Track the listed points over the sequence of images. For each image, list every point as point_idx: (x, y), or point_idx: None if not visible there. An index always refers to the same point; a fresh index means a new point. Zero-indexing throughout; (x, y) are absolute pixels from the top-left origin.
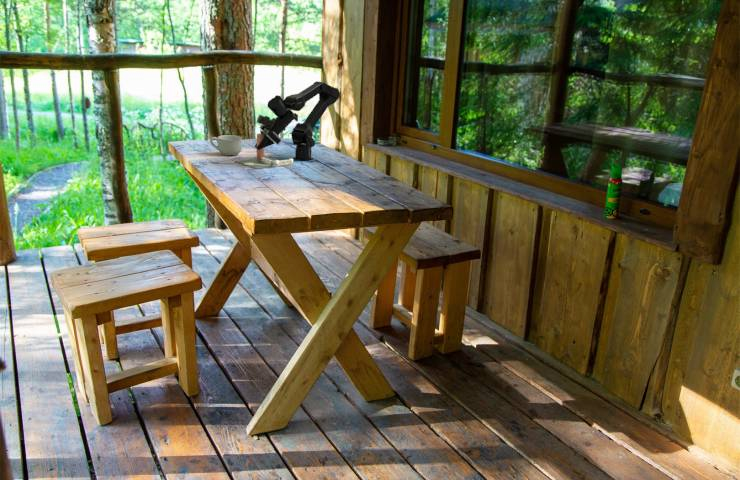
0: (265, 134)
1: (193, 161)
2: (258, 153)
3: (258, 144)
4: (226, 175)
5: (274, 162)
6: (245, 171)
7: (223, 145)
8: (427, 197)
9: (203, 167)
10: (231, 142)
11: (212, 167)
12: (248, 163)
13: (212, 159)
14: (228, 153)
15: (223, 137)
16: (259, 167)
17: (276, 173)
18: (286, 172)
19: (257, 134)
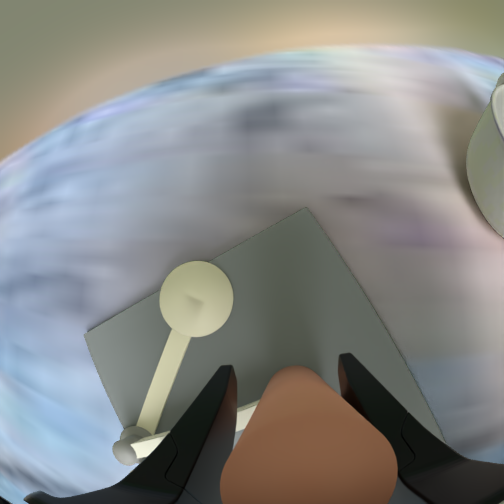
0: (27, 500)
1: (292, 54)
2: (268, 384)
3: (259, 401)
4: (24, 189)
5: (123, 459)
6: (53, 263)
7: (479, 123)
8: None
9: (163, 92)
10: (500, 150)
11: (156, 118)
12: (201, 294)
13: (358, 107)
14: (467, 175)
15: None
16: (98, 351)
17: (20, 401)
18: (39, 453)
19: (297, 427)
